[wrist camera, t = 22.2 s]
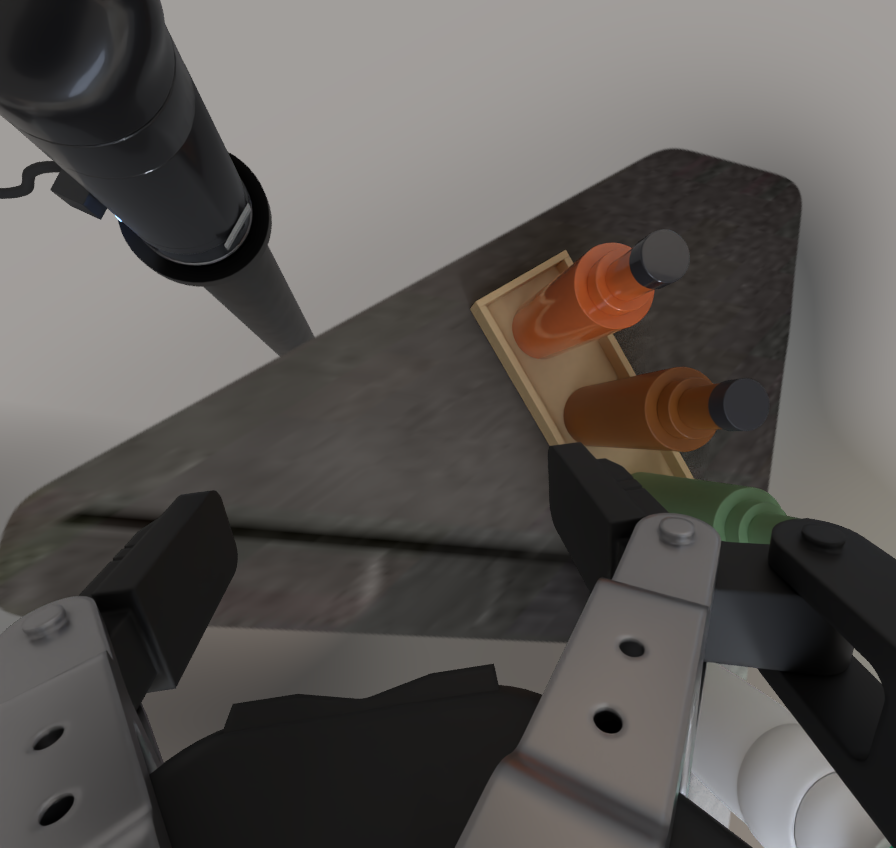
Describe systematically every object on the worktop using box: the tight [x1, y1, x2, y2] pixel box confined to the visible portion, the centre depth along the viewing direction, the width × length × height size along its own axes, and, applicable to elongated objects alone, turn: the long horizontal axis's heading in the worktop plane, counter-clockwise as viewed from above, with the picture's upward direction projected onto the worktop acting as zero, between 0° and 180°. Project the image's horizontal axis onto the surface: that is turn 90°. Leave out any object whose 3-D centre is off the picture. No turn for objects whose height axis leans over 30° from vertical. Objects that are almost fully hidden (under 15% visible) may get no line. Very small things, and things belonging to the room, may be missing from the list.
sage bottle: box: [631, 472, 820, 544], centre depth 35 cm, size 5×5×18 cm
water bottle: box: [691, 662, 893, 848], centre depth 31 cm, size 7×7×25 cm
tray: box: [470, 250, 694, 479], centre depth 42 cm, size 27×9×2 cm, turn 31°
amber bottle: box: [563, 367, 769, 452], centre depth 34 cm, size 5×5×18 cm
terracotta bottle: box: [512, 229, 690, 359], centre depth 33 cm, size 5×5×18 cm
